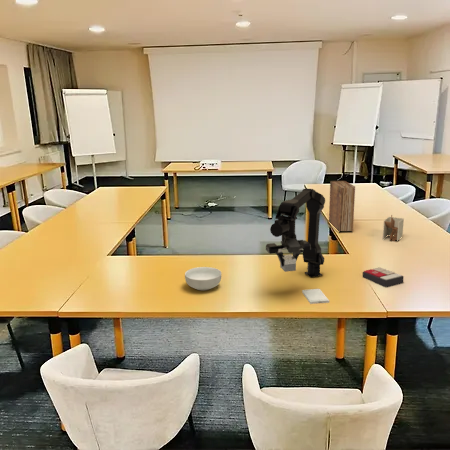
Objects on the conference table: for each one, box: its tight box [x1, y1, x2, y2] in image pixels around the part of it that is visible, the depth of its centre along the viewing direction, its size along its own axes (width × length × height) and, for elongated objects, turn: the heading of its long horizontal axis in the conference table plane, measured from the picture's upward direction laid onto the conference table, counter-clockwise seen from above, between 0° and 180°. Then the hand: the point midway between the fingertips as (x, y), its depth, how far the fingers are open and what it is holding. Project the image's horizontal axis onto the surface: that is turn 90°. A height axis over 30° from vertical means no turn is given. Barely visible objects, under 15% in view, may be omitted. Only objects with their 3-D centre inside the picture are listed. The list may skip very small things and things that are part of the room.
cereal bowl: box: [184, 266, 222, 291], centre depth 204 cm, size 17×17×7 cm
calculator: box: [362, 266, 405, 289], centre depth 208 cm, size 11×4×15 cm
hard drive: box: [301, 288, 330, 305], centre depth 191 cm, size 2×8×12 cm
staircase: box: [382, 214, 405, 242], centre depth 269 cm, size 9×11×17 cm
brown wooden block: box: [328, 179, 356, 233], centre depth 294 cm, size 25×9×30 cm, turn 2°
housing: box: [279, 253, 297, 273], centre depth 194 cm, size 6×5×6 cm
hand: (288, 265), depth 194 cm, fingers closed on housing, 5 cm apart
